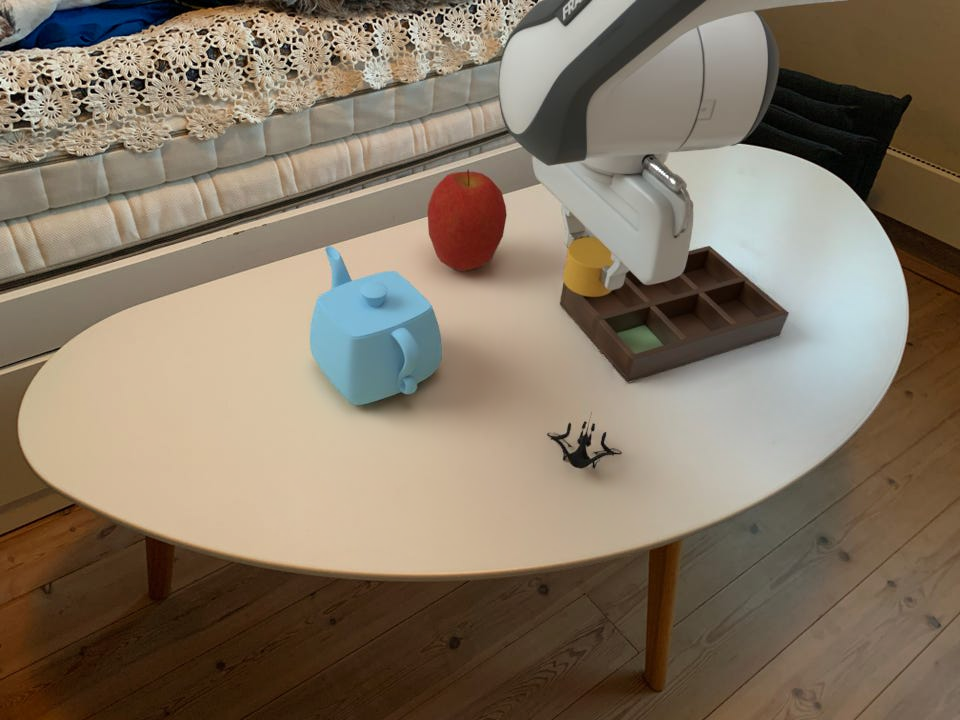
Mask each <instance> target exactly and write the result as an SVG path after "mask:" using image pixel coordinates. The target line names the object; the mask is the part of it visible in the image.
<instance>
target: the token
mask: <svg viewBox="0 0 960 720" xmlns="http://www.w3.org/2000/svg"><path fill="white" fill-rule="evenodd" d="M611 254H612V252H611V251H610V250H609V249H607V248H606V247H605V246H604V245H603V244H602V243H601V242H600V241H599V240H598V239H597V238H595V237H584V238H580V239H576V240H574V241H573V242H572V243H571V244H570V245H569V247H567V252H566V258H565V264H564V270H563V276H562V279H563V282H564V283H565V285H566V286H567V287H568V288H569V289H570V290H572V291H573V292H575V293H577V294H580V295H583V296H589V297H598V296H603V295H606V294H608V293H610V292H611V291H612V290H611V291H609V290H608V289H607V288H606V287H605V286H604V285H603V284H602V283H601V282H600V281H599V277H600V276H601V274H600V272H601V268H602V267H605V266H611V265H612V264H614V262H613V261H612V260H611Z"/></svg>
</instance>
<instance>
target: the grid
mask: <svg viewBox="0 0 960 720" xmlns="http://www.w3.org/2000/svg"><path fill="white" fill-rule="evenodd" d="M559 305H560V306H561V307H562V309H563V310H564V311H565V312H566V313H567V315H568V316H569V317H570V318H571V319H572V320H573V321H574V323H575V324H576V325H577V326H578V327H579V328H580V330H581V331H582V332H583V333H584V334H585V336H587V338H588V339H589V340H590V341H591V342H592V343H593V345H594V346H595V347H596V348H597V349H598V350H599V351H600V353H601V354H602V355H603V356H604V357H605V359H606V360H607V361H608V362H609V363H610V364H611V366H613V368H614V369H615V370H616V371H617V372H618V373H619V375H620V376H621V377H622V378H623V379H624V381H626V383H631V382H634V381H637V380H640V379H644V378H647V377H649V376H653V375H657V374H659V373H663V372H666V371H669V370H672V369H676V368H678V367H681V366H685V365H688V364H691V363H695V362H698V361H700V360H704V359H707V358H711V357H713V356H717V355H721V354H724V353H726V352H730V351H732V350H736V349H739V348H743V347H745V346H749V345H752V344H755V343H758V342H762V341H765V340H769V339H771V338H775V337H778V336H781V333H782V331H783V329H784V326H785V323H786V321H787V319H788V316H789V315H790V312H788V311H787V310H786V309H785V308H784V307H782V306H781V305H780V304H779V303H778V302H777V301H775V300H774V299H773V298H772V297H771V296H769V294H767V293H766V292H765V291H764V290H762V289H761V288H760V287H759V286H758V285H756V284H755V283H754V282H753V281H752V280H751V279H750V278H749V277H747V276H746V275H745V274H744V273H742V271H740V270H739V269H738V268H737V267H735V266H734V265H733V264H732V263H731V262H729V261H728V260H727V258H725V257H724V256H722V255H721V254H720V253H719V252H718V251H716V250H715V249H714V248H713V247H712V246H711V245H707V246H702V247H700V248H695V249H691V250H689V253H688V257H687V262H686V266H685V269H684V271H683V273H682V274H681V275H679V276H678V277H676V278H674V279H671V280H668V281H665V282H661V283H656V284H652V285H645V284H643V283H642V282H641V281H640V280H639V279H638V278H637V277H636V276H635V275H634V274H633V273H632V272H631V271H630V270H629V271H628V272H627V273H626V276H625V280H624V284H623V286H622V287H620V288H618V289H614V290H612V291H611V292H610V293H608V294H606V295H603V296H598V297H589V296H583V295H580V294H577V293H575V292H573V291H572V290H570V289H569V288H568V287H567V286H566V285H565V283H564V281H563V283H562V288H561V293H560V301H559Z"/></svg>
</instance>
